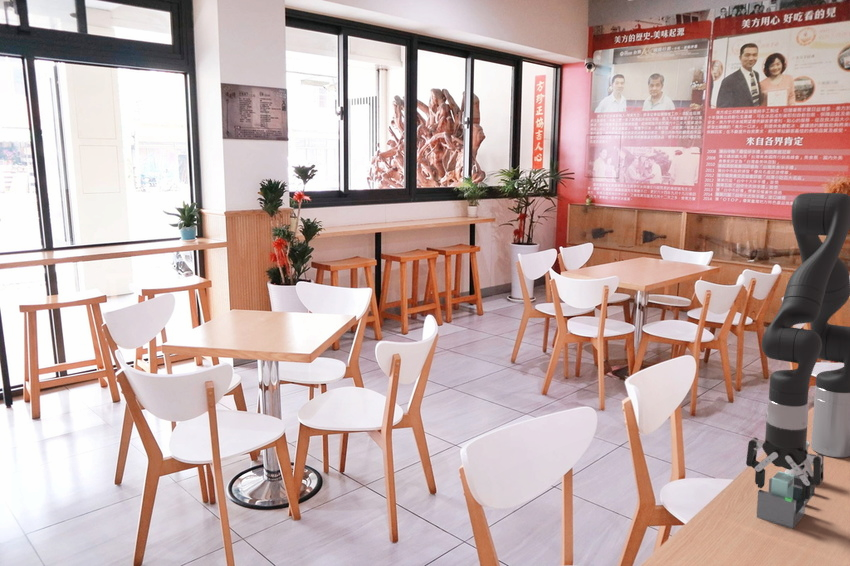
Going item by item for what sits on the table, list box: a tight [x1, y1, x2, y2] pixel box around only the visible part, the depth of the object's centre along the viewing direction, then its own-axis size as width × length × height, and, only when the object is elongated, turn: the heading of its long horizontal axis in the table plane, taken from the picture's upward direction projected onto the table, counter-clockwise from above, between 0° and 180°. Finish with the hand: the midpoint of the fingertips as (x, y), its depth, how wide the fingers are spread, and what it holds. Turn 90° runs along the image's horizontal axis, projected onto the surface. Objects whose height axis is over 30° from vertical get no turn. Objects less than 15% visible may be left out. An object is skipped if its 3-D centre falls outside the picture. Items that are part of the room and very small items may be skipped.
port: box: [756, 477, 806, 530], centre depth 139 cm, size 8×7×7 cm
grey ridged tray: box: [791, 474, 816, 506], centre depth 147 cm, size 8×5×4 cm, turn 135°
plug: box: [771, 470, 794, 499], centre depth 139 cm, size 4×3×8 cm
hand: (782, 492), depth 139 cm, fingers open, 8 cm apart
